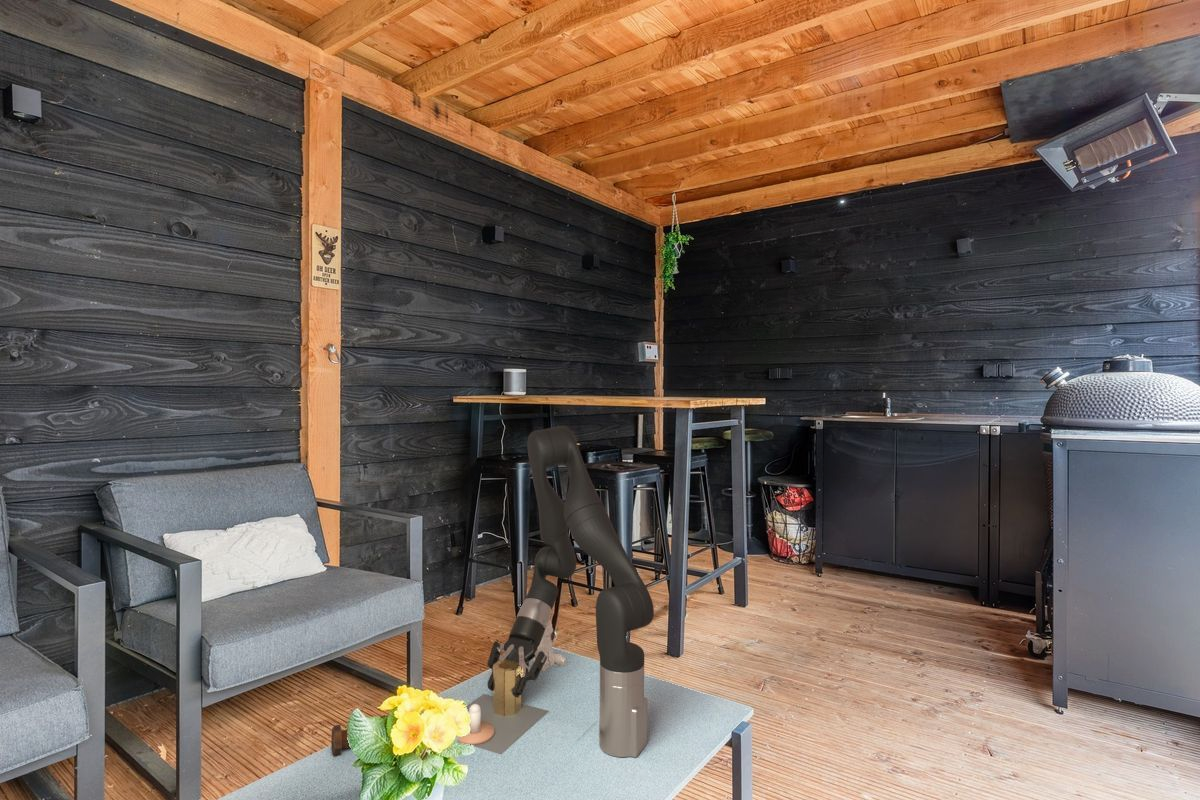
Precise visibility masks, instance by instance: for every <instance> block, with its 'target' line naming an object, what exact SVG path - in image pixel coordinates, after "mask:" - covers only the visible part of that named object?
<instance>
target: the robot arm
mask: <svg viewBox="0 0 1200 800" xmlns="http://www.w3.org/2000/svg"><path fill="white" fill-rule="evenodd" d="M526 445H527V446H526V447H527V454H528V461H529V467H530V472H531V476H532V483H533V487H534V491H535V496H536V502H537V507H538V515H539V517H538V518H539V519H538V520H539V536H540V539H541V542H542V543H543V544H545V545H547V546H543V547H541V548H540V549H539V550H538V551H537V553H536V555H535V557H534V564H533V565H534V566H533V575H532V579H531V583H530V587H529V589H528V592H527V594H526V597H525V599H524V600H523V603H522V605H521V607H520V608H519V610H518V613H517V615H516V617H515V620H514V623H513V625H512V627H511V629H510V632H509V636H508V638H507V641H506V642H504V643H502V642H501V643H500V642H499V641H497V640H496V641H493V644H492V647H491V649H490V650H491V651H490V654H489V656H488V660H487V663H486V665H487V667H488V668H490V669H491V674H490V675H489V677H488V680H487V684H486V685H487V688H488V689H489V691H491V692H493V664H495V663H496V662H498V661H500V660H501V661H504V660H507V659H508V660H511V661H515V662H519V665H521V672H520V677H519V678H518V680H517V683H516V685H515V687H514V690H513V693H512V694H513V695H514V696H515V697H517V698H518V697H519V695H521V696H522V694H523V693H524V690H525V687H526V685H527V682H529V681H536V680H537V679H538V677H539V674H540V673H541V672H542V671H541V669H542V667H543V665H544V664H545V662H546V660H547V656H546V655H545V653H544V652H543V651H540V652H539V651H537V648H538V646H539V645H540V642H541V640H542V637H543V634H544V632H545V629H546V627H547V625H548V622H549V621H550V618H551V613H552V611H553V608H554V606H555V603H556V600H557V598H558V595H559V588H558V586H557V585H556V584H555V583H553V582H552V581H550V580H549V579H546V578H547V576H550V577H555V578H559V579H563V580H564V579H565V580H566V579H569V578H571V577H572V576H573V575H574V574H575V572H576V569H577V564H578V563H577V557H576V552H575V549H574V547H573V543H572V541H571V538H570V534H571V537H572V538H573V540H574V542H575V544H576V545H577V546H578V547H579V549H581V550H582V551H583V552H584V553H585V554H587V555H588V556H589V557H590V558H591V559H592V560H593V561H595V562H597V564H599V565H600V566H601V567H602V568H603V569H604V570H605V571H606V573H607V574H608V576H609V577H610V579H611V580H612V582H613V584H614V586H610V587H607V588H604V589H602V590H601V591H600V592H599V593H598V595H597V598H596V601H595V625H596V646H597V650H598V654H599V715H598V716H599V718H598V719H599V725H598V727H599V732H598V740H599V741H598V743H599V745H598V746H599V748H600V750H601V751H602V752H604V753H605V754H607V755H609V756H612V757H616V758H627V757H628V758H630V757H632V758H637V757H638V756H639V754H640V753H641V752H642V750H643V749H644V748H645V746H646V745H647V744H648V698H647V697H645V651H644V649H643V648H642V647H641V646H640V645H638V644H636V643H633V642H631V641H627V632H628V633H629V632H630V631H634V630H638V629H640V628H644V627H646V626H649V625H650V624H651V623H652V622H653V619H654V613H655V609H654V602H653V599H652V596H651V595H650V592H649V590H648V588H647V586H646V584H645V583H644V581H643V579H642V578H641V575H640V574H639V573H638V571H637V569H636V567H635V566H634V565H633V562H632V561H631V559H630V558H629V556H628V554H627V552H626V550H625V548H624V546H623V543H622V542H621V540H620V539H619V536H618V534H617V532H616V530H615V528H614V525H613V522H612V521H611V518H610V516H609V515H608V512H607V510H606V507H605V505H604V504H603V502H602V500H601V498H600V496H599V494H598V493H597V490H596V488H595V486H594V483H593V481H592V478H590V474H589V472H588V469H587V467H586V465H585V461H584V460H583V456H582V454H581V450H580V447H579V446H578V443H577V440H576V438H575V436H574V434H573V432H572V430H570V428H569V427H567V426H565V425H558V426H557V425H556V426H553V427H549V428H544V429H538V430H533V431H532V432H530V433H529V434H528V437H527V443H526ZM560 465H564V466H565V467H566V469H567V472H568V476H569V481H568V488H567V494H566V498H565V502H563V499H562V498H561V497H560V496H559V494H558V493H557V492H556V491H555V490H554V488H553V486H552V484H551V483H550V481H549V479H548V475H547V468H551V467H556V466H560ZM569 532H570V534H569ZM503 651H504V653H503ZM502 653H503V654H502ZM501 654H502V655H501ZM534 657H535V661H534V663H533V662H532V665H531V666H530V662H531V661H532V659H533V658H534Z"/></svg>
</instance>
